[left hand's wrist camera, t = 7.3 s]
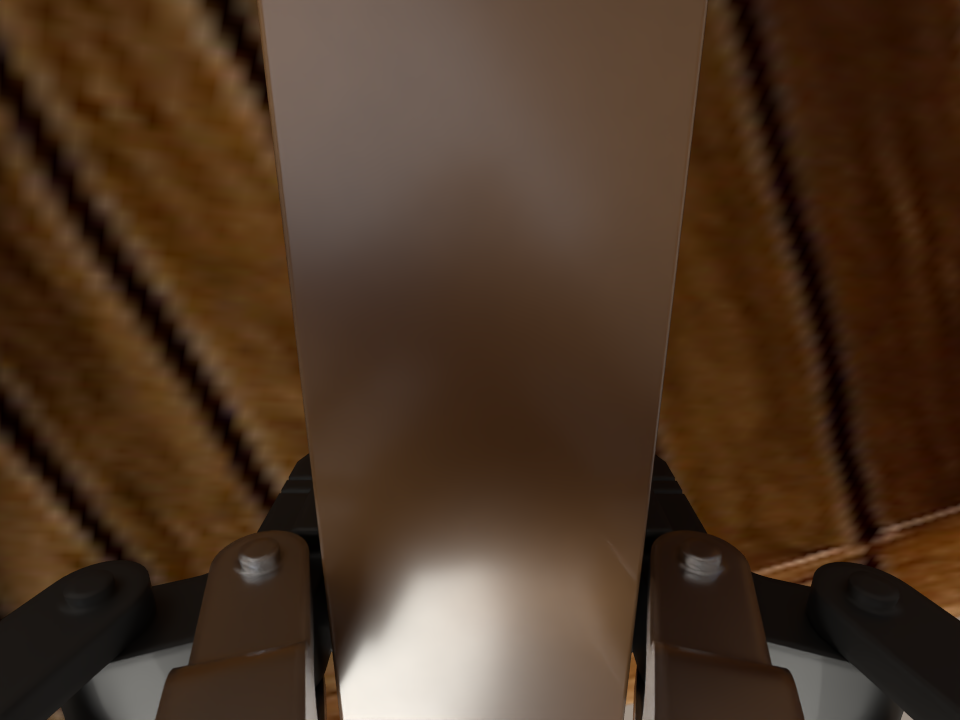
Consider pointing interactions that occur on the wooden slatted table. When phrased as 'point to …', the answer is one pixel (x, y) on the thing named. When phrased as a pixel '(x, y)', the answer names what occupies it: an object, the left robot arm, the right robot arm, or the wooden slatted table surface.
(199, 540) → the wooden slatted table surface
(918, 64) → the wooden slatted table surface
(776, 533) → the wooden slatted table surface
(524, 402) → the bar
